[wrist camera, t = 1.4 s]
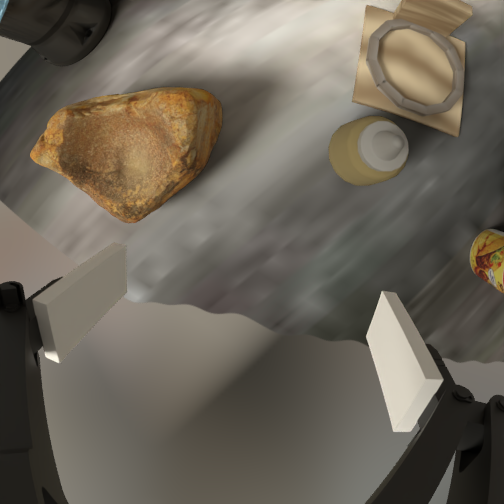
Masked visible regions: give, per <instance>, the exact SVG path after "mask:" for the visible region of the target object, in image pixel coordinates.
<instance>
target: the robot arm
mask: <svg viewBox="0 0 504 504" xmlns="http://www.w3.org/2000/svg"><path fill="white" fill-rule="evenodd" d="M110 19H111V4H110V2H109V0H0V36H2V37H5V38H8V39H12V40H15V41H18V42H21V43H24V44H27V45H30V46H31V47H32V48H33V49H34V50H35V51H36V52H37V53H38V54H40V56H41V57H42V58H43V59H44V60H45V61H46V62H48V63H50V64H53V65H56V66H68V65H71V64H73V63H76V62H77V61H79V60H81V59H82V58H84V57H85V56H86V55H87V54H88V53H89V52H91V51H92V50H93V48H94V47H95V46H96V45H97V44H98V43H99V41H100V40H101V38H102V37H103V35H104V33H105V32H106V30H107V27H108V25H109V22H110ZM126 293H127V272H126V245H123V244H118V243H113V244H111V245H110V246H108V247H107V248H105V249H104V250H102V251H101V252H99V253H98V254H96V255H95V256H93V257H92V258H90V259H89V260H87V261H86V262H84V263H83V264H81V265H80V266H78V267H77V268H76V269H74V270H73V271H71V272H70V273H68V274H67V275H66V276H64V277H61V278H58V279H55V280H53V281H51V282H50V283H48V284H47V285H46V286H44V287H43V288H41V290H39V291H37V292H36V293H35V294H33V295H32V296H31V297H29V298H28V299H26V300H25V295H24V290H23V286H22V284H21V283H19V282H15V281H9V282H5V283H2V284H0V504H68V502H67V500H66V498H65V495H64V493H63V490H62V486H61V483H60V479H59V475H58V471H57V468H56V463H55V459H54V455H53V450H52V445H51V440H50V435H49V430H48V424H47V418H46V412H45V405H44V397H43V390H42V380H41V369H40V357H39V354H38V350H39V349H40V348H41V347H42V346H43V348H44V352H45V356H46V357H47V358H49V359H51V360H53V361H55V362H58V363H60V362H61V361H62V360H63V359H64V358H65V357H66V355H68V354H69V353H70V351H71V350H72V349H73V348H74V347H75V346H76V345H77V344H78V343H79V342H80V341H81V340H82V338H83V337H84V336H85V335H86V334H87V333H88V332H89V331H90V330H91V329H92V328H93V327H94V326H95V324H97V322H98V321H99V320H100V319H101V318H102V317H103V316H104V315H105V314H106V313H107V312H108V311H109V310H110V309H111V308H112V307H113V306H114V305H115V304H116V303H117V302H118V301H119V300H120V299H121V298H122V297H123V296H124V295H125V294H126ZM366 338H367V341H368V344H369V347H370V350H371V353H372V357H373V360H374V363H375V367H376V370H377V373H378V377H379V380H380V383H381V387H382V391H383V394H384V398H385V401H386V405H387V409H388V413H389V416H390V420H391V424H392V428H393V431H394V432H410V431H411V430H412V429H413V427H414V426H415V424H416V423H417V421H418V424H419V427H420V430H419V431H418V433H417V434H416V435H415V437H414V438H413V439H412V441H411V442H410V443H409V445H408V447H407V449H406V450H405V452H404V453H403V455H402V456H401V458H400V459H399V461H398V462H397V463H396V465H395V466H394V467H393V469H392V470H391V471H390V473H389V474H388V475H387V477H386V478H385V479H384V481H383V482H382V483H381V484H380V486H379V487H378V488H377V489H376V491H375V492H374V493H373V494H372V496H371V497H370V498H369V499H368V500H367V501H366V503H365V504H428V503H429V501H430V500H431V498H432V496H433V494H434V493H435V491H436V489H437V487H438V485H439V483H440V481H441V479H442V478H443V476H444V474H445V472H446V470H447V468H448V466H449V463H450V461H451V459H452V457H453V455H454V453H455V451H456V454H455V461H454V468H453V473H452V479H451V484H450V489H449V495H448V499H447V503H446V504H504V396H502V395H495V396H493V397H492V398H491V399H490V400H489V402H488V403H487V404H486V403H482V402H478V401H475V399H474V396H473V395H472V393H471V392H470V391H469V390H468V389H467V388H465V387H463V386H460V385H456V384H455V382H454V380H453V378H452V377H451V375H450V373H449V371H448V369H447V367H445V364H444V362H443V361H442V358H441V356H440V355H439V353H438V351H437V350H436V349H435V348H434V347H432V346H431V345H430V344H425V343H424V341H423V339H422V338H421V336H420V334H419V332H418V330H417V329H416V327H415V325H414V323H413V322H412V320H411V318H410V316H409V315H408V313H407V311H406V310H405V308H404V306H403V304H402V303H401V301H400V299H399V298H398V296H397V294H396V293H393V292H387V291H382V293H381V296H380V299H379V302H378V305H377V308H376V311H375V313H374V316H373V319H372V322H371V325H370V327H369V330H368V333H367V335H366Z"/></svg>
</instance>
